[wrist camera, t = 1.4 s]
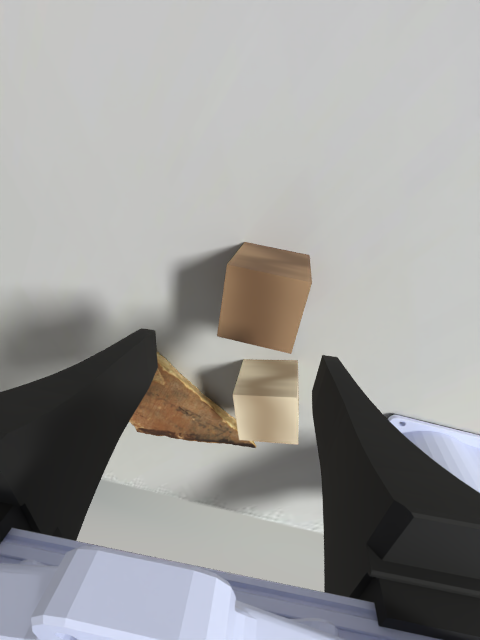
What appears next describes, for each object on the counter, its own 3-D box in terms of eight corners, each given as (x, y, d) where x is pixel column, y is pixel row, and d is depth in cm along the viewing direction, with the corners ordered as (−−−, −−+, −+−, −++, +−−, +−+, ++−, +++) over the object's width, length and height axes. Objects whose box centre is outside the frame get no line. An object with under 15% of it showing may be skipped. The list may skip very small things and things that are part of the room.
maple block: (297, 359, 24) (297, 397, 20) (298, 402, 26) (298, 444, 22) (243, 358, 25) (232, 394, 21) (248, 400, 27) (239, 439, 23)
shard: (259, 432, 29) (256, 451, 27) (198, 464, 33) (192, 483, 31) (159, 341, 26) (148, 355, 24) (107, 389, 30) (93, 404, 28)
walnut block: (309, 255, 20) (311, 282, 15) (293, 313, 22) (291, 353, 17) (244, 241, 20) (227, 264, 15) (235, 300, 22) (217, 336, 18)
